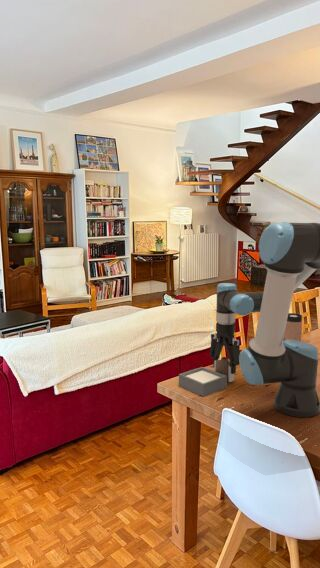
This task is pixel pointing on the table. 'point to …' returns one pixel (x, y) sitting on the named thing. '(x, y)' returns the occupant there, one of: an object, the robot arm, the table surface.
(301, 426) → the table surface
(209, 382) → the gray square tray
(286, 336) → the travel mug
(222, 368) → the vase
